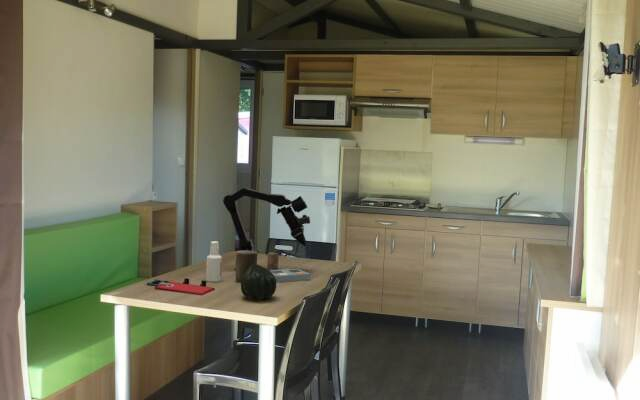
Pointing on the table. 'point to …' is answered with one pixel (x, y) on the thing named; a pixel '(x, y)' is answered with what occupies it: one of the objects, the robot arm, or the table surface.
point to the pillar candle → (244, 262)
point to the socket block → (290, 275)
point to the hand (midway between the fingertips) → (305, 244)
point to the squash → (258, 283)
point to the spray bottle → (214, 263)
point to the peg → (272, 261)
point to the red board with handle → (182, 287)
